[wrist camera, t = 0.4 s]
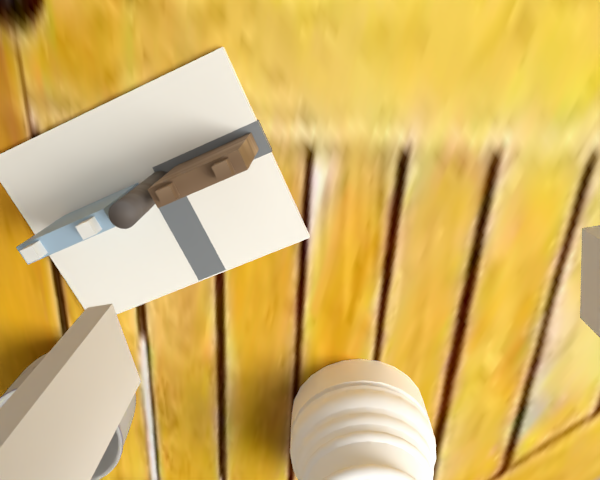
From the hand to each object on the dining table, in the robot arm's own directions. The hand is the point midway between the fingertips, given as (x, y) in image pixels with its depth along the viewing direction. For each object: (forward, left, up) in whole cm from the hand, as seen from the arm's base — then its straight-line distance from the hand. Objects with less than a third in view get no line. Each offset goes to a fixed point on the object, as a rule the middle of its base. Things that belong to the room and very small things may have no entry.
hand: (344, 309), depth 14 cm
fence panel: (-2, -18, -26) cm, 31 cm away
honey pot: (+26, -7, -27) cm, 37 cm away
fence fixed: (-2, -9, -26) cm, 27 cm away
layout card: (-1, -15, -26) cm, 30 cm away
